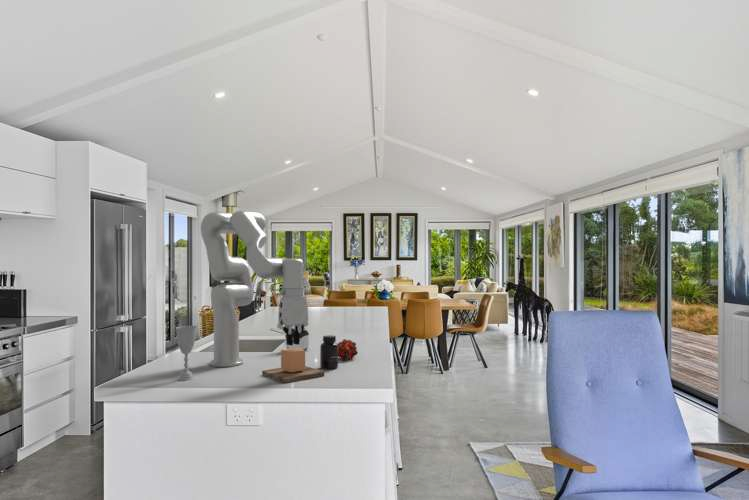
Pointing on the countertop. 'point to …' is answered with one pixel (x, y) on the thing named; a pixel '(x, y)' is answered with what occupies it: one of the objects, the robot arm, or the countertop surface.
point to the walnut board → (292, 374)
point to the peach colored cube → (293, 359)
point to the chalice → (186, 347)
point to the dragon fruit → (346, 349)
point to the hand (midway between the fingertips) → (293, 344)
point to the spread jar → (303, 340)
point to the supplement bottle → (329, 353)
